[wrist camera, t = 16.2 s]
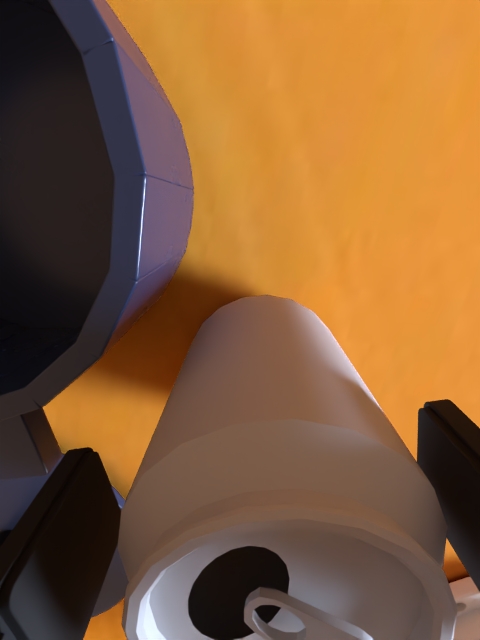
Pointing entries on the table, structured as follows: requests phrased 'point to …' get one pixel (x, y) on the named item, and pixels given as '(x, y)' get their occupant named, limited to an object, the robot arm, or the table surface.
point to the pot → (77, 206)
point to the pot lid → (13, 500)
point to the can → (280, 497)
